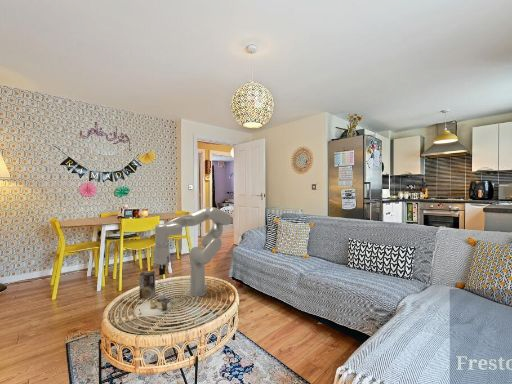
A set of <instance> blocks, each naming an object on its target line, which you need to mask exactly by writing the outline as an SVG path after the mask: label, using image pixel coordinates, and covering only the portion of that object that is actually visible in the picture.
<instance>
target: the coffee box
mask: <svg viewBox="0 0 512 384" xmlns="http://www.w3.org/2000/svg"><path fill="white" fill-rule="evenodd" d="M155 297H156V271H155V270H154V271H144V272H141V271H140V274H139V299H141V300H142V299H143V300H144V299H149V298H150V299H151V298H155Z"/></svg>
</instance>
